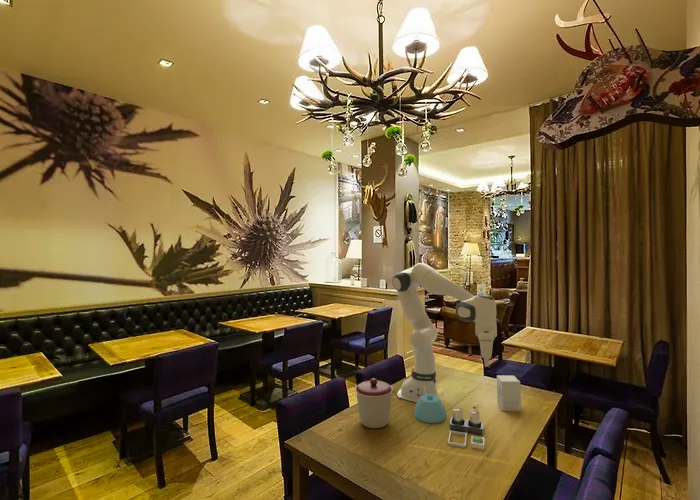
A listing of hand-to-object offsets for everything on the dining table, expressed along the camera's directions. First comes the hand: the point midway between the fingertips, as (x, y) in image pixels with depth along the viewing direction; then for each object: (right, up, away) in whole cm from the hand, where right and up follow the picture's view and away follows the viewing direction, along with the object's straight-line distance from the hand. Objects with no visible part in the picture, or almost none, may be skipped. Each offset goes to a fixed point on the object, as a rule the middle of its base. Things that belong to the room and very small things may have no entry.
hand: (486, 362), depth 155 cm
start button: (-8, -30, -11) cm, 33 cm away
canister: (-48, -32, +12) cm, 59 cm away
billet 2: (-5, -30, +1) cm, 30 cm away
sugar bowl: (-21, -32, +15) cm, 41 cm away
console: (-8, -31, -11) cm, 34 cm away
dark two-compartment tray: (-8, -31, +2) cm, 32 cm away
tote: (-15, -32, -7) cm, 35 cm away
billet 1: (-11, -30, +4) cm, 32 cm away
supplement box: (+21, -31, +25) cm, 45 cm away
